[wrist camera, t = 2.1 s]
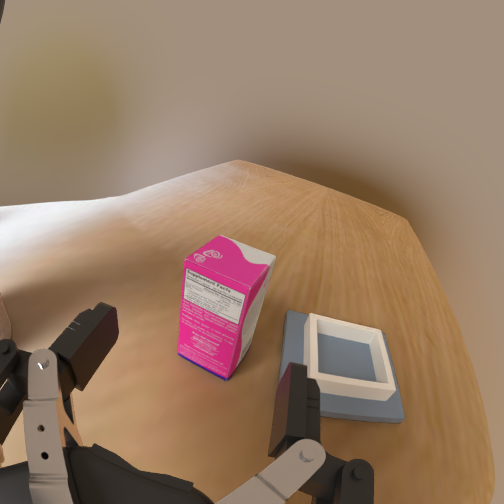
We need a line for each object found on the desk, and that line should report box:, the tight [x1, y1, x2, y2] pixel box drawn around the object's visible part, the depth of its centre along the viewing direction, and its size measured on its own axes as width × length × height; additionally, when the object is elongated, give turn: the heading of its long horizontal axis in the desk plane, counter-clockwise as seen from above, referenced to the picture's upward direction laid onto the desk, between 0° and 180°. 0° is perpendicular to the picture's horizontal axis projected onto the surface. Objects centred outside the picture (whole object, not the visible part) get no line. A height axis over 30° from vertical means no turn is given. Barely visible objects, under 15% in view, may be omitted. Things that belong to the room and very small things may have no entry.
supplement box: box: [178, 235, 276, 381], centre depth 25 cm, size 6×6×12 cm
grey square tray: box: [278, 310, 405, 423], centre depth 28 cm, size 14×14×3 cm
